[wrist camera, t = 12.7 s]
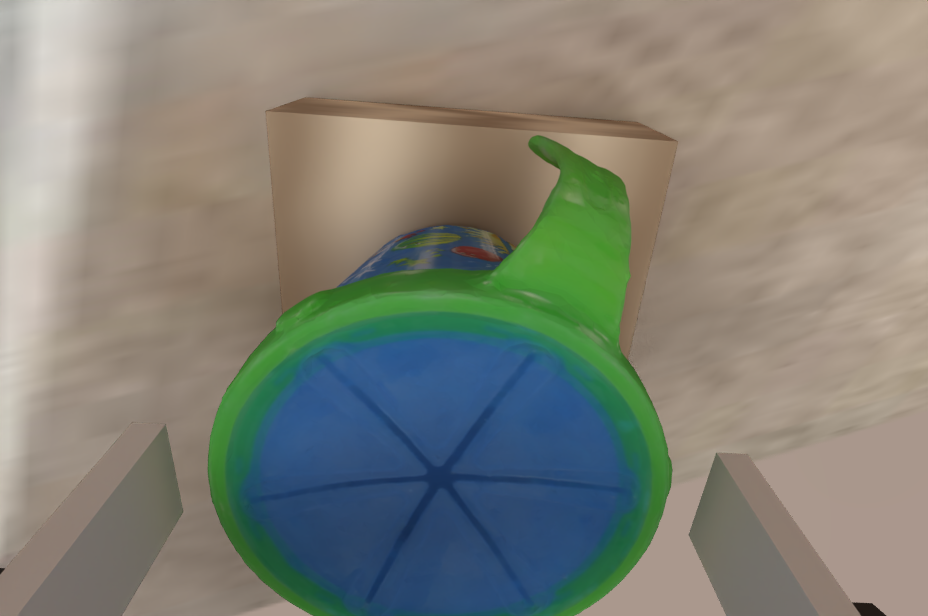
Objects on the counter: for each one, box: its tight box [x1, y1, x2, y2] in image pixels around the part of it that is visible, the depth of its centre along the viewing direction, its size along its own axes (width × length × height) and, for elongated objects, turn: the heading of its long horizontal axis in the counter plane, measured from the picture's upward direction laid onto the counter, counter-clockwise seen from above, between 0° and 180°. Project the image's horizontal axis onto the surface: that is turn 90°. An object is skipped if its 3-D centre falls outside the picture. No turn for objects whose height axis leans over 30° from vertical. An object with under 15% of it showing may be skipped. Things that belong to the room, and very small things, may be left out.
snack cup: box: [208, 135, 672, 616], centre depth 17 cm, size 16×10×10 cm
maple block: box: [266, 97, 678, 360], centre depth 24 cm, size 14×14×5 cm
